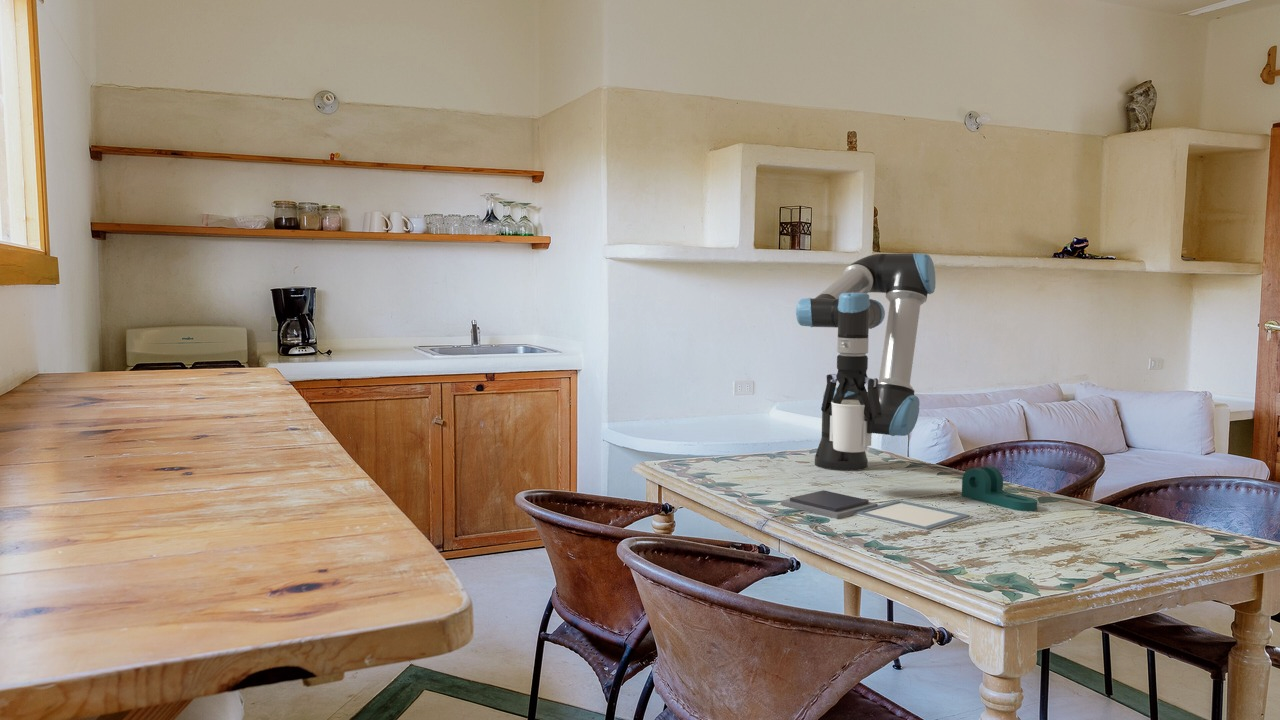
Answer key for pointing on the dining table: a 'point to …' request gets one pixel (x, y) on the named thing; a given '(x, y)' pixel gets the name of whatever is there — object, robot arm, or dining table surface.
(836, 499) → the ink pad
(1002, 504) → the bracket
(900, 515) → the marked square
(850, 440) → the candle holder
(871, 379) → the robot arm
